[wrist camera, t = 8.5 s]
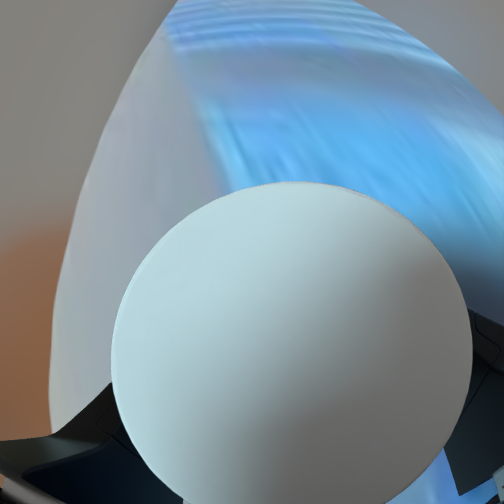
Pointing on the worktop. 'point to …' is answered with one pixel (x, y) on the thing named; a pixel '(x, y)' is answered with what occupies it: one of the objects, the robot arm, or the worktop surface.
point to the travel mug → (494, 500)
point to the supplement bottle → (291, 350)
